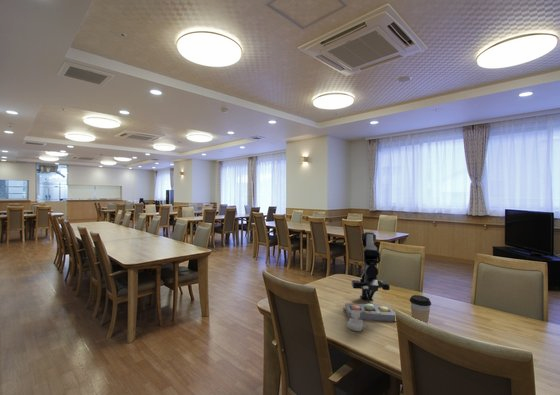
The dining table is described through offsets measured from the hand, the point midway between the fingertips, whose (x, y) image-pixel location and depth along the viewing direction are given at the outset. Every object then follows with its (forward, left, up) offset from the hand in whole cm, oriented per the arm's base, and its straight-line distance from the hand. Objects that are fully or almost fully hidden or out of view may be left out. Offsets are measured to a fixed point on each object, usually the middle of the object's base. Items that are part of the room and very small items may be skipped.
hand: (369, 301), depth 150 cm
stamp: (+18, -11, -7) cm, 22 cm away
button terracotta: (0, -7, -7) cm, 10 cm away
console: (0, 0, -7) cm, 7 cm away
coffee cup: (+14, +20, -7) cm, 26 cm away
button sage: (0, 0, -6) cm, 6 cm away
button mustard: (0, +8, -7) cm, 10 cm away
